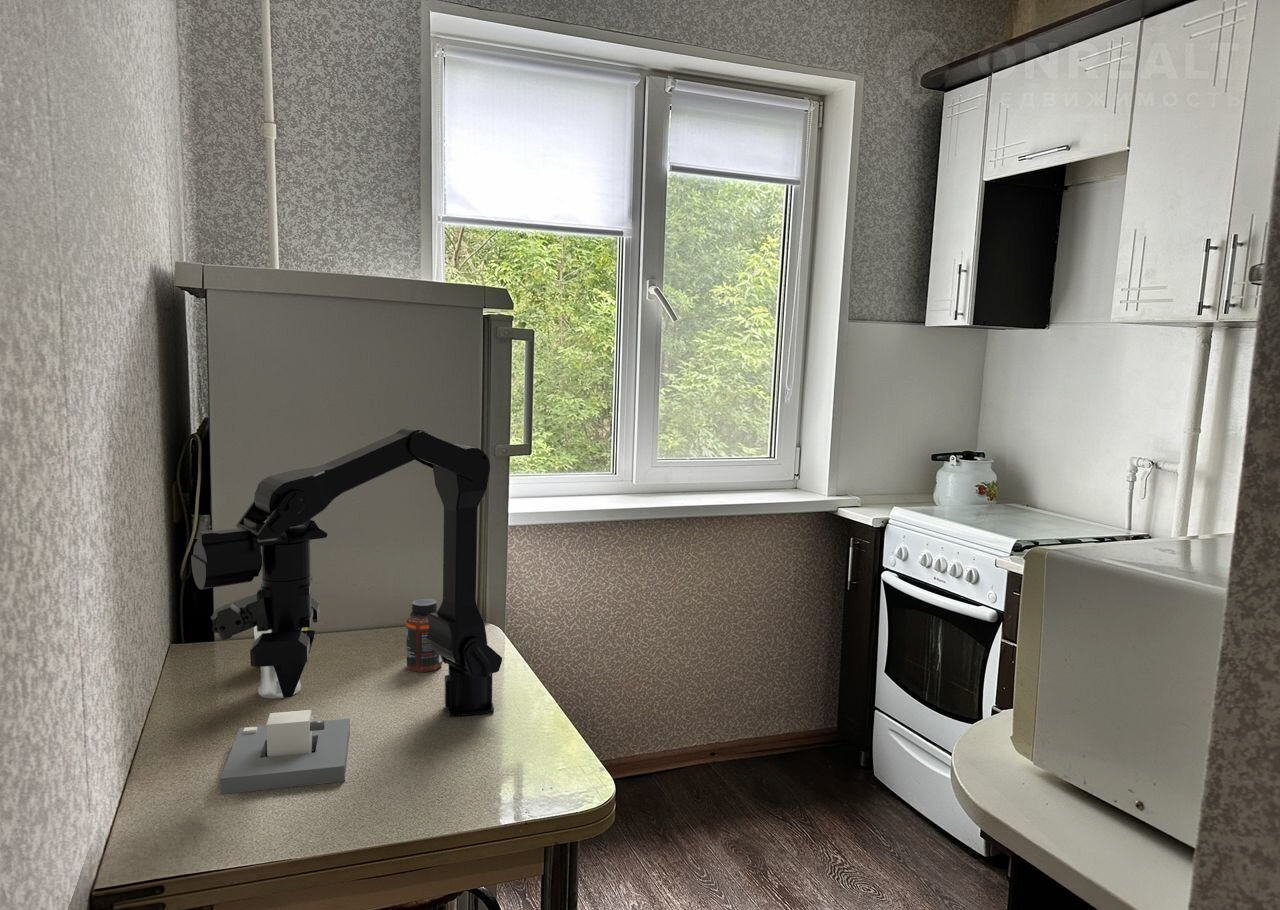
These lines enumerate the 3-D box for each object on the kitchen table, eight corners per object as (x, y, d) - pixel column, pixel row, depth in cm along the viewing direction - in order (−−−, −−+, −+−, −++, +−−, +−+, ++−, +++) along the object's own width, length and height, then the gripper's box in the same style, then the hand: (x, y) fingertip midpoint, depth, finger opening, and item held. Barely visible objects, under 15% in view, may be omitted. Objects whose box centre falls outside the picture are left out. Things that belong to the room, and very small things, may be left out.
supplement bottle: (450, 665, 144) (450, 600, 143) (423, 676, 139) (424, 609, 138) (425, 657, 148) (425, 594, 146) (398, 667, 143) (398, 602, 141)
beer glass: (286, 702, 128) (284, 605, 126) (245, 697, 129) (242, 601, 127) (313, 685, 134) (311, 593, 133) (273, 680, 136) (271, 589, 134)
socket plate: (349, 732, 119) (349, 715, 118) (344, 781, 105) (344, 762, 105) (240, 741, 115) (239, 725, 114) (220, 794, 101) (220, 775, 101)
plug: (325, 751, 113) (325, 708, 112) (323, 764, 109) (323, 719, 109) (271, 757, 111) (270, 713, 110) (267, 769, 108) (266, 724, 107)
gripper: (229, 560, 114) (233, 672, 115) (199, 600, 96) (204, 732, 98) (318, 557, 117) (320, 666, 119) (305, 595, 99) (307, 723, 101)
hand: (288, 694), depth 109 cm, fingers closed
